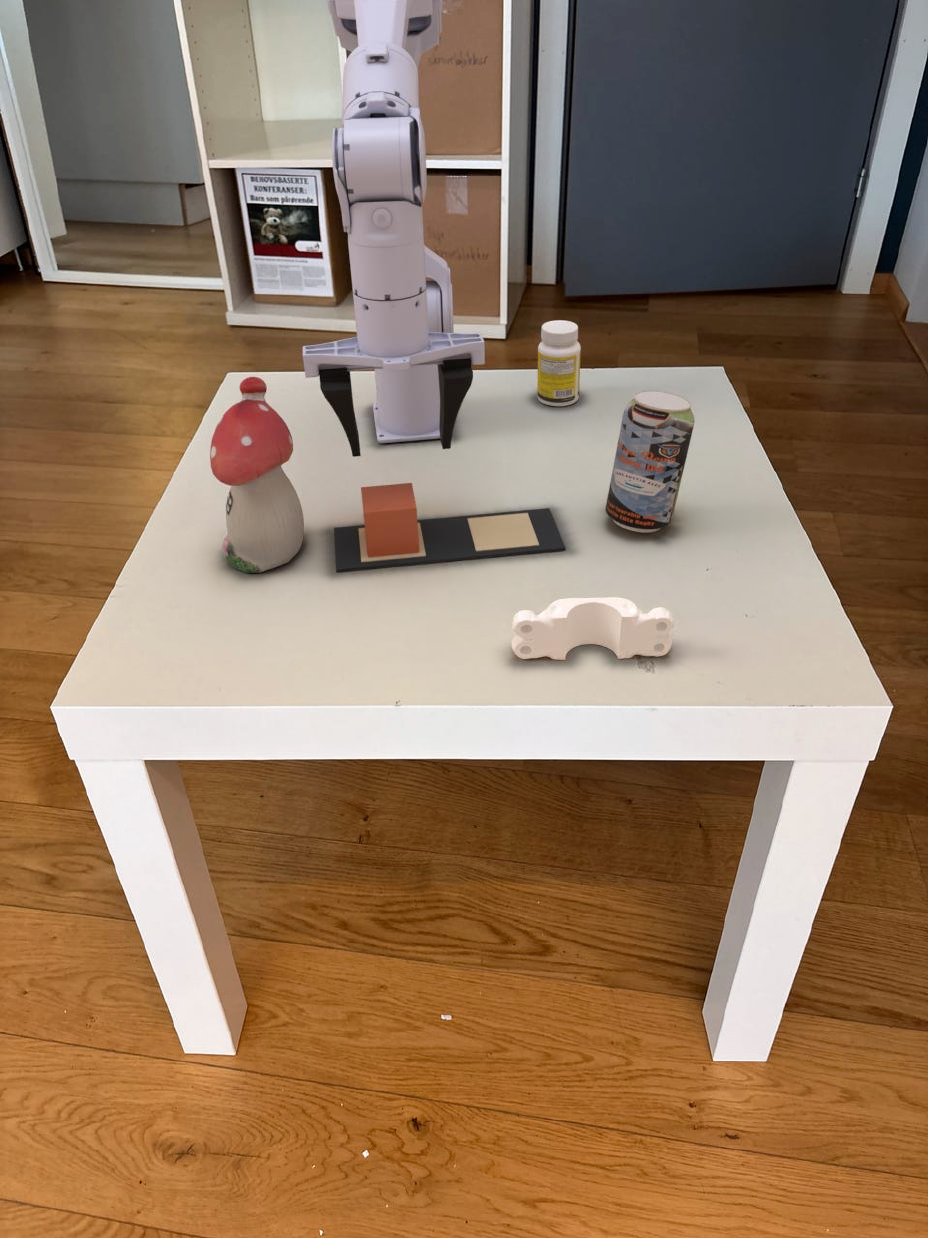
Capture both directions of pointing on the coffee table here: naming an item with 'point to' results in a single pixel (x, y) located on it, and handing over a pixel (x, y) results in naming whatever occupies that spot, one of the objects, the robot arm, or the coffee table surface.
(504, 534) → the black rectangular board
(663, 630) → the pipe clamp
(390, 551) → the orange red cube
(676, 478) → the beverage can
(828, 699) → the coffee table surface
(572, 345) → the supplement bottle
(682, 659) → the coffee table surface
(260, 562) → the decorative ornament
